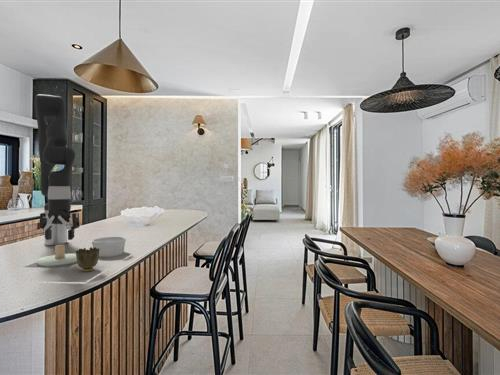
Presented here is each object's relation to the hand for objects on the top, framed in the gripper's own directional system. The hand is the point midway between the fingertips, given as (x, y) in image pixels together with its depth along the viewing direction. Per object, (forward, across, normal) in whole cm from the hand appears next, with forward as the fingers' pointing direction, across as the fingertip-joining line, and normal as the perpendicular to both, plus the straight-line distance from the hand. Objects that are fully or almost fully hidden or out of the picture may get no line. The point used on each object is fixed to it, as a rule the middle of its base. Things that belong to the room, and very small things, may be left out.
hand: (59, 239), depth 117 cm
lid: (+9, 0, 0) cm, 9 cm away
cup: (+10, -17, +11) cm, 22 cm away
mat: (+9, 0, 0) cm, 9 cm away
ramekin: (+9, -13, -13) cm, 21 cm away
